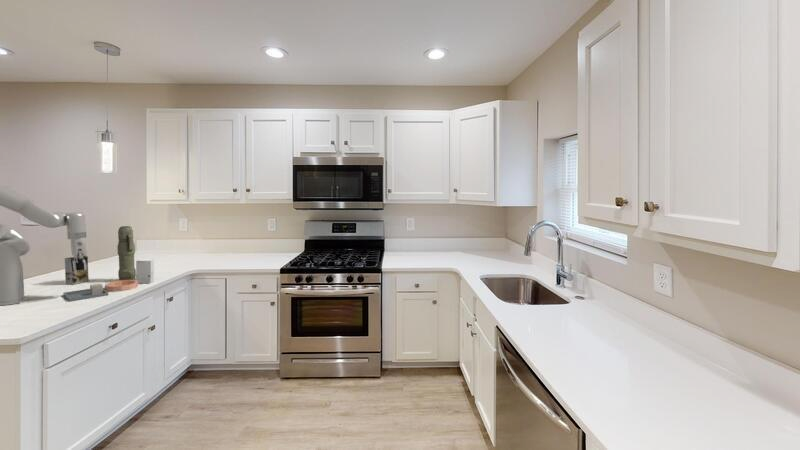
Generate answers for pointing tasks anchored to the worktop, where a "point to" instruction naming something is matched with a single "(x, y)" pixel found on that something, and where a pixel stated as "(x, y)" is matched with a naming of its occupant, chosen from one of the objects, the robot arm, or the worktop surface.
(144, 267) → the skincare box
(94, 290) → the pebble
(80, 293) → the tray
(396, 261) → the worktop surface
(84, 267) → the pebble
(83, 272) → the coffee box
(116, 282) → the bowl
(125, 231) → the thermos
